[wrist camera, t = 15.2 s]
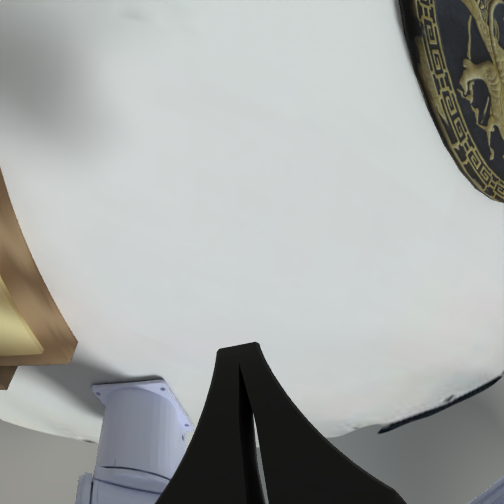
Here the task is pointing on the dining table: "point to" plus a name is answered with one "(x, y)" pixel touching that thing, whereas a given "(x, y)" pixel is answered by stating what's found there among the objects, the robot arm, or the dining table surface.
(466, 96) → the decorative plate
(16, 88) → the dining table surface
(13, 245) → the frame
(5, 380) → the ledge
